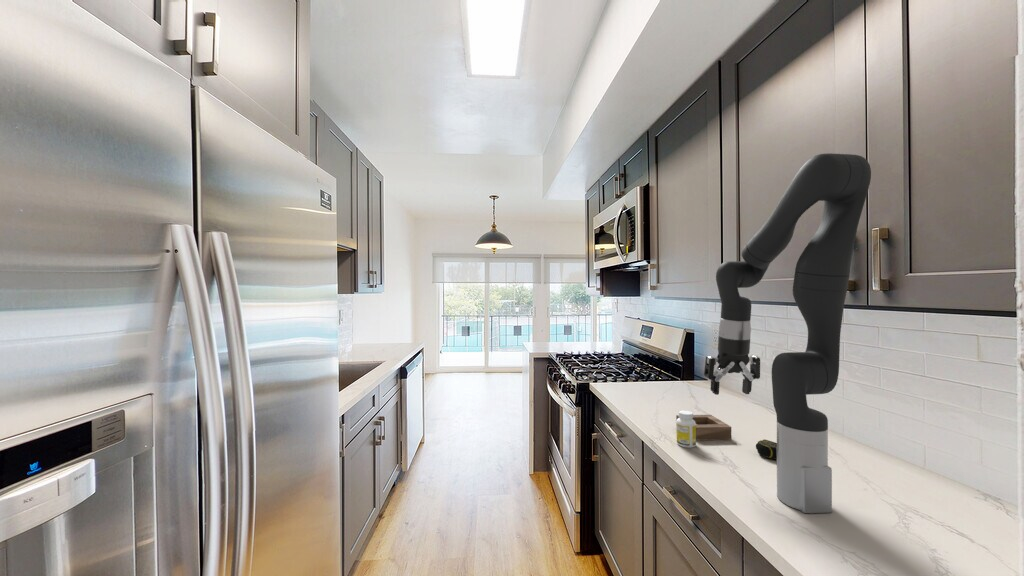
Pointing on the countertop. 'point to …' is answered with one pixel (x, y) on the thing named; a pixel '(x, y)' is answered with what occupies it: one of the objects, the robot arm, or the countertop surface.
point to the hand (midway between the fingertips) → (730, 393)
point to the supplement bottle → (686, 429)
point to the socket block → (710, 428)
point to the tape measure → (767, 448)
